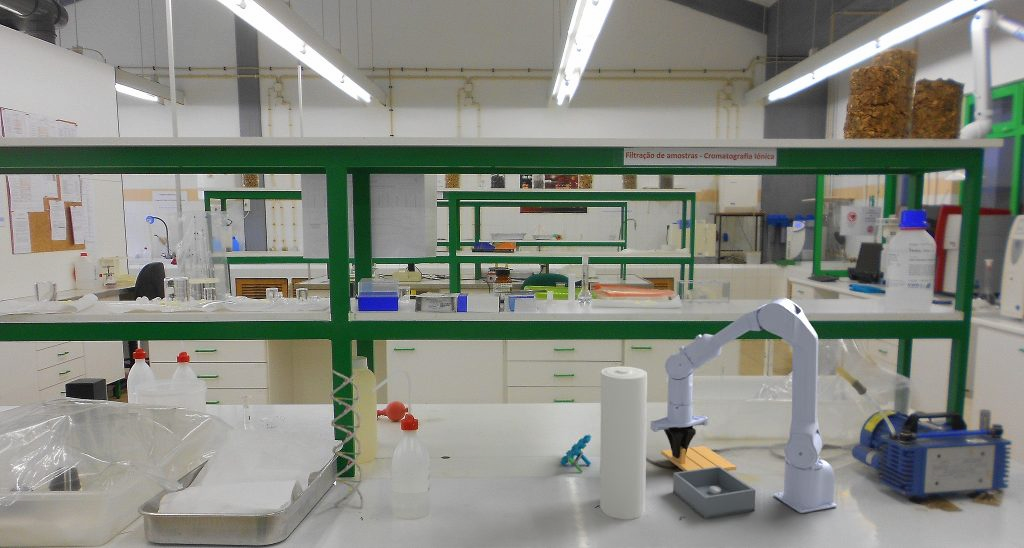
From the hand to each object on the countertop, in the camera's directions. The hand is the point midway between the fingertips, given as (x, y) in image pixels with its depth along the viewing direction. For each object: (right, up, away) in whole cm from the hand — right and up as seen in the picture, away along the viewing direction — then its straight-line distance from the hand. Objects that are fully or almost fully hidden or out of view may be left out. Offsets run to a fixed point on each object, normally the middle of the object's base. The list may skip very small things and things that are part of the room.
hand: (678, 456), depth 138 cm
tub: (+3, -5, -14) cm, 15 cm away
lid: (+5, -2, +2) cm, 6 cm away
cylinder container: (-17, -6, -17) cm, 24 cm away
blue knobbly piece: (-25, -4, +4) cm, 25 cm away
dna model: (-75, -6, -16) cm, 77 cm away
